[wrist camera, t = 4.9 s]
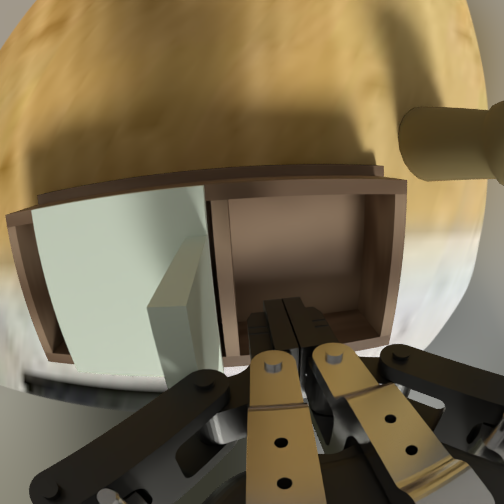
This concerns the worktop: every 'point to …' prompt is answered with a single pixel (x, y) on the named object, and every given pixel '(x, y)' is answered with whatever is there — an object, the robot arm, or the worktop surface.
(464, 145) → the olive rounded piece
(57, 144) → the worktop surface
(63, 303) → the lid
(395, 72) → the worktop surface
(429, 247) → the worktop surface
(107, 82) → the worktop surface
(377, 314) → the caddy
